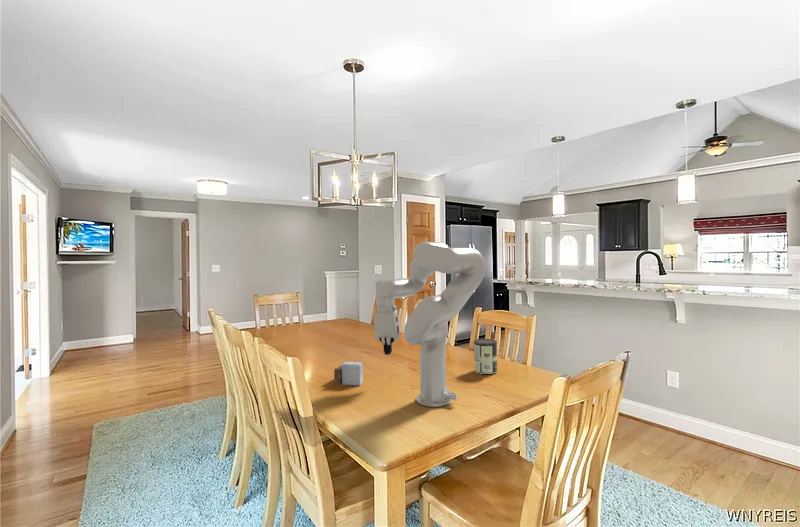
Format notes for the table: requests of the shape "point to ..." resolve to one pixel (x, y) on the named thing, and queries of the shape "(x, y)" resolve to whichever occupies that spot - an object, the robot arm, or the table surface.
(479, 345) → the coffee can
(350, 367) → the medicine box
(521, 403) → the table surface
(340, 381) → the walnut block
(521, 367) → the table surface
